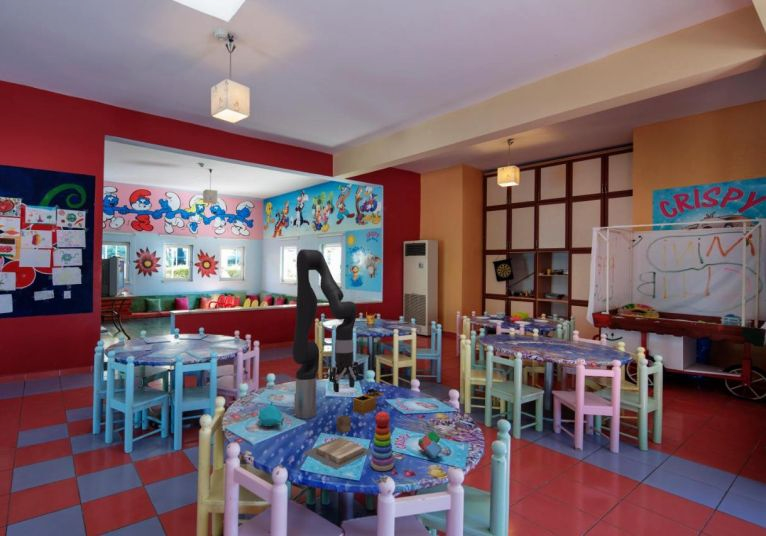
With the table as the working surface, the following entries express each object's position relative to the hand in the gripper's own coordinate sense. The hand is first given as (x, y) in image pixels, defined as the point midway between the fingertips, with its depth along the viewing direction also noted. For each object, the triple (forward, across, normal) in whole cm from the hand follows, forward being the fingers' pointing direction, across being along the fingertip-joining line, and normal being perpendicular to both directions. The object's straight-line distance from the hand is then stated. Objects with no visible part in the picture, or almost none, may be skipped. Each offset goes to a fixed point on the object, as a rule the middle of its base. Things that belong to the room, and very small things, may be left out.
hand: (344, 389), depth 169 cm
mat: (+17, +15, +13) cm, 26 cm away
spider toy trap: (+18, -27, -11) cm, 34 cm away
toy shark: (+17, +17, -26) cm, 36 cm away
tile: (+16, +15, +8) cm, 23 cm away
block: (+17, 0, 0) cm, 17 cm away
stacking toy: (+18, +11, +31) cm, 37 cm away
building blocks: (+18, -9, +38) cm, 43 cm away
